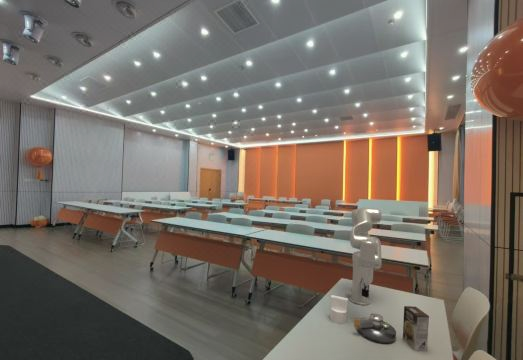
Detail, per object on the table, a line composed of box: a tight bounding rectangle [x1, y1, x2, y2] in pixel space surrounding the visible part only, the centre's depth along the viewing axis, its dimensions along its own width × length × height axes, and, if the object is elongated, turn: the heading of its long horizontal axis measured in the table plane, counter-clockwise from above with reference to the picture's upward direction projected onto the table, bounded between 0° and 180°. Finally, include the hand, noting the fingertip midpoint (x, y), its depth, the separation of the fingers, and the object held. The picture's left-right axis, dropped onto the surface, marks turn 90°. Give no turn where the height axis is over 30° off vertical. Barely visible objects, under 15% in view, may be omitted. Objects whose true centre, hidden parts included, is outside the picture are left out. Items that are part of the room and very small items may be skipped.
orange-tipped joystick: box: [353, 312, 384, 330], centre depth 128 cm, size 15×6×5 cm, turn 102°
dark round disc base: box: [356, 320, 397, 344], centre depth 128 cm, size 18×18×4 cm
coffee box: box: [402, 305, 430, 352], centre depth 120 cm, size 9×6×16 cm
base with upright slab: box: [329, 294, 349, 325], centre depth 140 cm, size 9×9×12 cm
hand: (365, 296), depth 137 cm, fingers closed
